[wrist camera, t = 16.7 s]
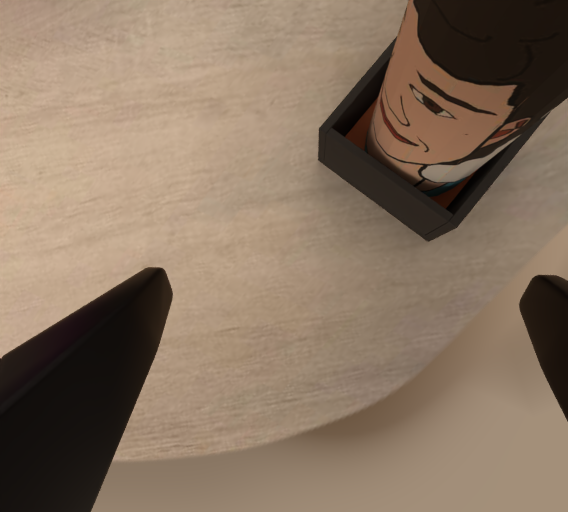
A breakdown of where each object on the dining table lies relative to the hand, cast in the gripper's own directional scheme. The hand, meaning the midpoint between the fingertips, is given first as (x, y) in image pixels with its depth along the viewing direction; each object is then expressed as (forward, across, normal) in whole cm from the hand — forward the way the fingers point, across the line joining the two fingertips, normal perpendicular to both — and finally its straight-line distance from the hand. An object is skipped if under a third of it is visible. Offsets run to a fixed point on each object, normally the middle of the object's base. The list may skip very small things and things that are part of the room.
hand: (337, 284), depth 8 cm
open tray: (+15, -6, +2) cm, 17 cm away
